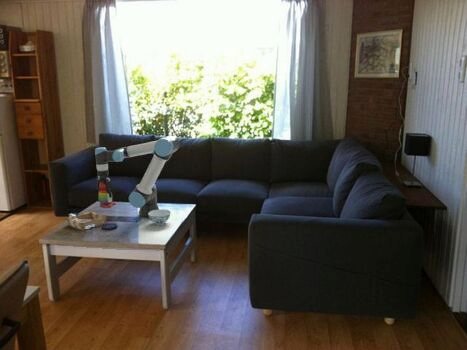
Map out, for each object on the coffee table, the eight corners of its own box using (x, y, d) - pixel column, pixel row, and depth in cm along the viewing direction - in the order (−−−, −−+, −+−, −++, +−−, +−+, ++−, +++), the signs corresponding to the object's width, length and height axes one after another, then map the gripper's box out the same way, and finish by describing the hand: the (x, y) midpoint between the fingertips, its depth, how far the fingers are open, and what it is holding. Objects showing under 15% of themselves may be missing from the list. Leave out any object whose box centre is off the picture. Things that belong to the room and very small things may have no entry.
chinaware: (174, 220, 290) (174, 210, 288) (165, 228, 276) (164, 216, 274) (154, 219, 294) (154, 208, 292) (145, 226, 280) (144, 215, 278)
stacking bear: (109, 208, 288) (107, 183, 284) (96, 208, 290) (93, 183, 287) (117, 203, 299) (114, 179, 295) (104, 203, 301) (101, 179, 297)
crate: (106, 223, 285) (106, 216, 284) (82, 231, 272) (81, 223, 271) (91, 218, 297) (91, 211, 296) (68, 225, 283) (67, 217, 282)
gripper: (116, 170, 285) (119, 201, 290) (98, 167, 299) (101, 197, 304) (107, 172, 279) (110, 204, 284) (89, 169, 293) (92, 199, 298)
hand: (106, 200), depth 294 cm, fingers closed on stacking bear, 9 cm apart
